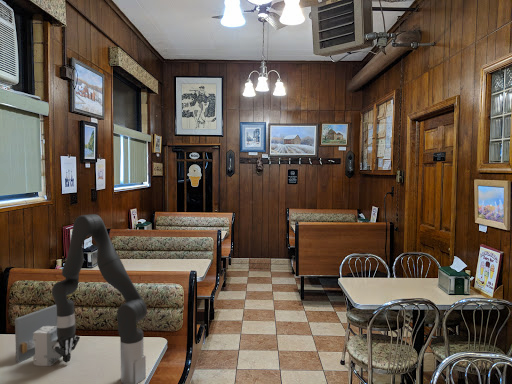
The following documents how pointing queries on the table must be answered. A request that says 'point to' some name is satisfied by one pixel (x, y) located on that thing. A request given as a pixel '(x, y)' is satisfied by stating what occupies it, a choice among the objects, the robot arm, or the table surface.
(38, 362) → the circuit breaker
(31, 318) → the mounting panel
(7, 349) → the table surface
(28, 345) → the din rail
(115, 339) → the table surface
